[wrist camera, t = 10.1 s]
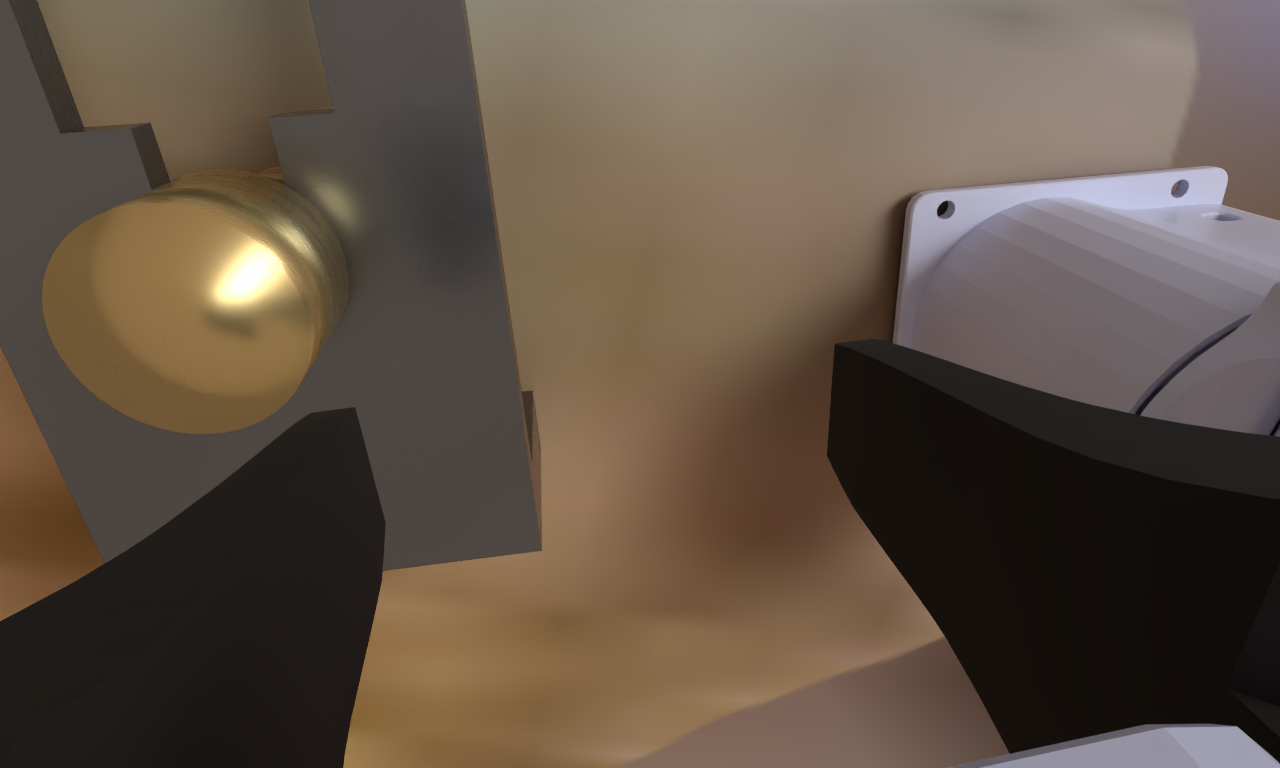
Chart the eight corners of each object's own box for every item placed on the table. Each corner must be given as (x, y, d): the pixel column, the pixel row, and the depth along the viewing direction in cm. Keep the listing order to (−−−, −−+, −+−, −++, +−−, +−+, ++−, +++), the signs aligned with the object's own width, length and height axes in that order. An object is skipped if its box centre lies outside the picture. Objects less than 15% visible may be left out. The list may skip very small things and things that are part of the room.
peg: (373, 140, 18) (288, 205, 12) (391, 300, 19) (327, 431, 13) (191, 137, 17) (4, 203, 11) (227, 302, 19) (83, 438, 13)
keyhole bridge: (418, -447, 14) (365, -653, 10) (540, 448, 23) (541, 550, 19) (-147, -440, 14) (-481, -661, 9) (204, 486, 22) (123, 603, 18)
